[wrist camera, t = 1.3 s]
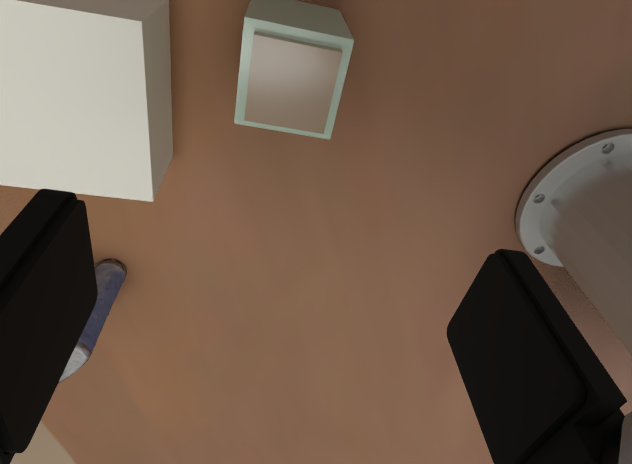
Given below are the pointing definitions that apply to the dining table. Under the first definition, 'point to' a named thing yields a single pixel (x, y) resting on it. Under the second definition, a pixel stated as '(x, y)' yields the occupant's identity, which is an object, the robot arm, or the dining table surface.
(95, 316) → the flask
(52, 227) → the robot arm
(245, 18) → the open sage green box
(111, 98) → the cream box
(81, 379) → the dining table surface
